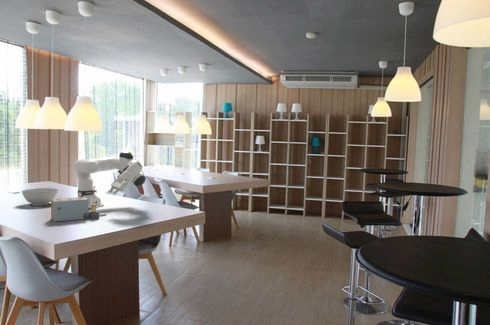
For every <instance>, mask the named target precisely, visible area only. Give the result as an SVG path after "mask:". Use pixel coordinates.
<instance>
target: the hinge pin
mask: <svg viewBox="0 0 490 325" xmlns="http://www.w3.org/2000/svg"><path fill="white" fill-rule="evenodd" d="M91 206H92V207H91V208H90V209H91V213H96V211H97V208H96V204H91Z"/></svg>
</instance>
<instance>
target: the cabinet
mask: <svg viewBox="0 0 490 325" xmlns="http://www.w3.org/2000/svg"><path fill="white" fill-rule="evenodd" d="M79 199H87V198H86V197H78V196H76V197H61V198H54V199H51V202H50V219H51V221H52V222H54V201H63V200H79Z"/></svg>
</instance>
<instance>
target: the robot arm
mask: <svg viewBox="0 0 490 325" xmlns="http://www.w3.org/2000/svg"><path fill="white" fill-rule="evenodd" d="M73 168H74V170H75V172H76V175H77V176H76V177H77V188H78V189H77V197H86V198H87V199H88V209H91V207H92V206H91V204H96V209H97V208H100V207H104V206H105V204H104V203H102V201H101V198H100V197H99V196H97V195H96V194H95V193H97V189H94V188H93V187H94V180H93V178H92V176H91V174H95V173H99V172H107V171H113V170H117V173H118V175H117V176H116V178H115V179H114V180H113V181H112V182H111V184H110V189H109V190H108V193H109V194H111V193H112V194H113V195H114V196H115V195H116V194H118V193H119V192H123V191H124V190H125V189H126V188H127V186H128V185H129V184H130V183H132V184H133V185H134V186H135V187H142V186H143V185H144V184H145V182H146V179H147V178H146V177H145V173H144V171H143V165H142V163H141V161H140V160H138V159H134V156H133V154H132V152H131V151H126V150H124V151H121V152H120V153H119V158H118V157H99V158H94V159H84V158H80V159H77V160H76V161H75V162H74V164H73Z"/></svg>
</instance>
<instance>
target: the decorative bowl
mask: <svg viewBox="0 0 490 325" xmlns="http://www.w3.org/2000/svg"><path fill="white" fill-rule="evenodd" d="M58 192H59V189H57V188H51V187H49V188H48V187H40V188H39V187H37V188H36V187H35V188H27V189H22V190H21V194H22V196H23V198H24V199H25V201H27V203H30V205H31V206H37V207H39V206H40V207H41V206H47V205H49V203H51V199H56V196H57V195H58Z"/></svg>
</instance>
